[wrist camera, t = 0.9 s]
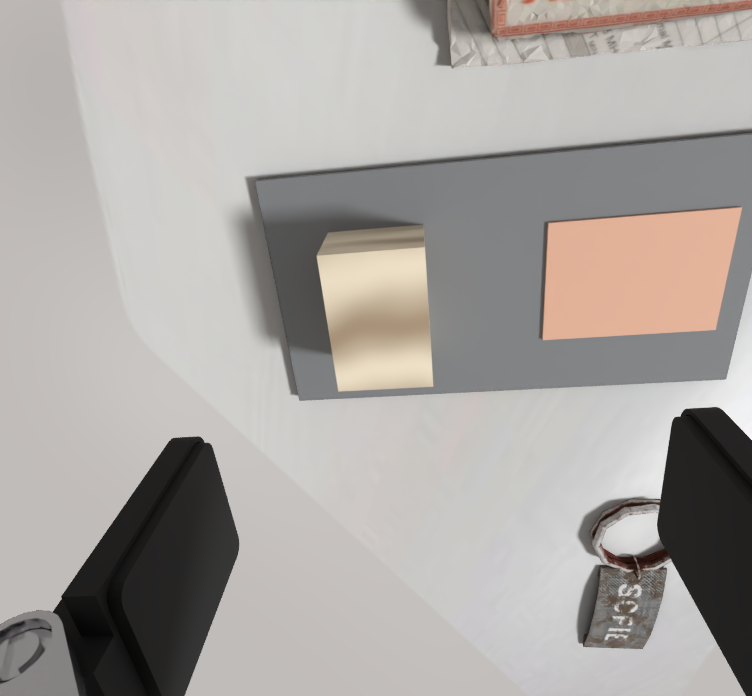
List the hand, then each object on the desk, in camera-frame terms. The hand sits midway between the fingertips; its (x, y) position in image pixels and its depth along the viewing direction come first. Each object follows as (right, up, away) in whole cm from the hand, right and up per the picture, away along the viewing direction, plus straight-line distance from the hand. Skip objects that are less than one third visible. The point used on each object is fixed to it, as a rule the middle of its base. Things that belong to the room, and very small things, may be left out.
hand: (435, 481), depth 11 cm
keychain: (+21, -17, +37) cm, 46 cm away
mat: (+7, +7, +24) cm, 26 cm away
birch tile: (-1, +6, +25) cm, 25 cm away
